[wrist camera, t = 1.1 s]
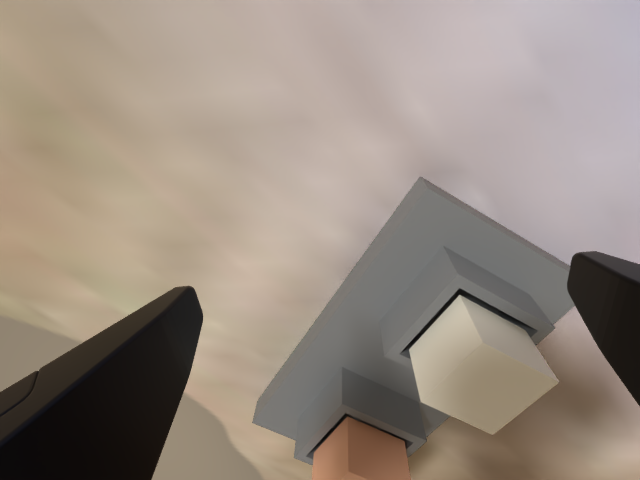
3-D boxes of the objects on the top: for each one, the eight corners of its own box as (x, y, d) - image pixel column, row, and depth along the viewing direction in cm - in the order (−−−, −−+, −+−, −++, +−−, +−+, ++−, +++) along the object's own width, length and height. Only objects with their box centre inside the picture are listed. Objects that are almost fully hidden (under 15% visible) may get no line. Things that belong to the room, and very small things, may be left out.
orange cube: (404, 441, 25) (413, 498, 21) (368, 474, 26) (371, 531, 23) (347, 416, 24) (348, 471, 21) (313, 452, 26) (310, 508, 22)
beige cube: (525, 330, 20) (559, 382, 17) (470, 380, 22) (492, 435, 19) (459, 294, 19) (482, 342, 16) (408, 349, 21) (420, 401, 18)
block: (575, 269, 24) (630, 320, 19) (380, 452, 33) (386, 516, 28) (420, 176, 21) (441, 209, 17) (257, 401, 30) (243, 461, 26)
